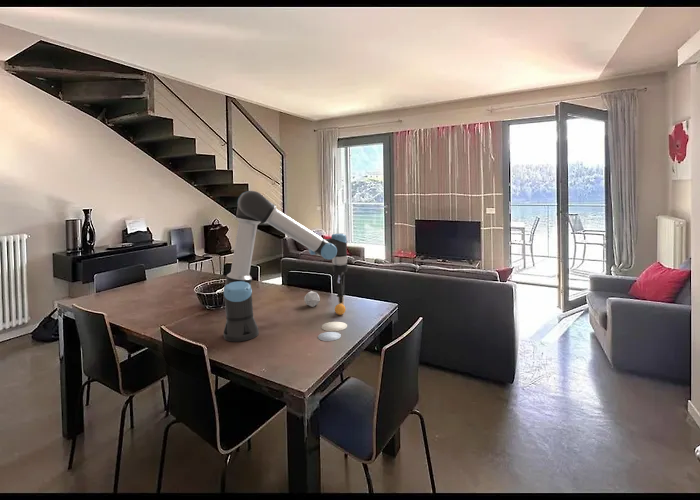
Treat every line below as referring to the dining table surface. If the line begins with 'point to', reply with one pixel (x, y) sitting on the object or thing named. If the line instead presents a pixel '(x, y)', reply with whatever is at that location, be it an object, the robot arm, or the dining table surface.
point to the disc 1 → (334, 326)
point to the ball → (340, 309)
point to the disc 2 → (329, 336)
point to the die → (311, 298)
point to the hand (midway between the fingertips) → (341, 308)
